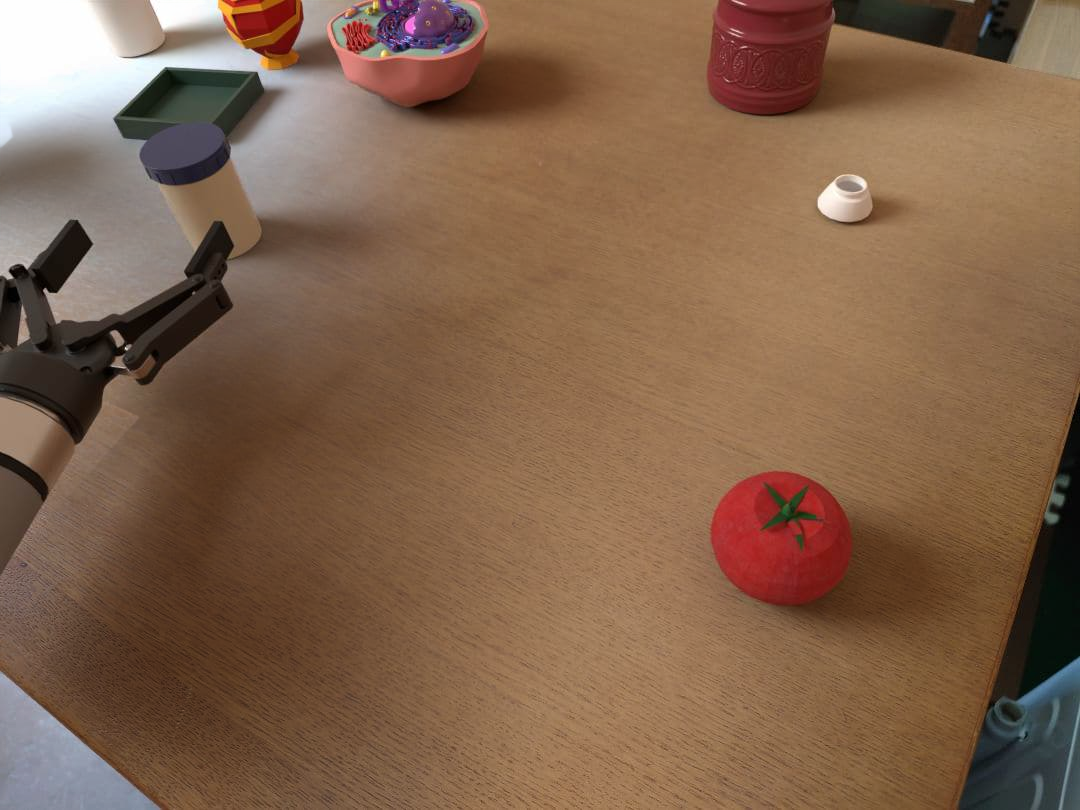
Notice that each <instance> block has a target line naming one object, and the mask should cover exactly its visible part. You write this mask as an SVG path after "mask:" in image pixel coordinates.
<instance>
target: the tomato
mask: <svg viewBox="0 0 1080 810" xmlns="http://www.w3.org/2000/svg"><path fill="white" fill-rule="evenodd" d="M710 524H711V525H710V542H711V546H712V550H713V553H714V557H715V560H716V562H717V564H718V566H719V568H720V570H721V572H722V573H723V574H724V576H725V577H726V579H727V580H728V581H729V582H730V583H731V584H732V585H733V586H735V587H736V589H738V590H739V591H741V592H742V593H744V594H745V595H747V596H749V597H750V598H753V599H755V600H757V601H760V602H762V603H765V604H769V605H773V606H783V607H784V606H787V607H790V606H798V605H804V604H806V603H810V602H813V601H815V600H817V599H818V598H820V597H822V596H823V595H825V594H827V593H828V592H830V591H831V590H833V589H834V588H835V587H836V586H837V585H838V584H839V583H840V582H841V580H842V579H843V577H844V576H845V574H846V572H847V570H848V568H849V566H850V565H849V564H850V562H851V558H852V553H853V538H852V529H851V525H850V524H851V523H850V521H849V518H848V517H847V514H846V512H845V510H844V509H843V507H842V506H841V504H840V503H839V501H838V500H837V498H836V497H835V496H834V495H833V494H832V493H831V492H830V491H829V490H828V489H827V488H825V487H824V486H823V485H822V484H820V483H819V482H817V481H815V480H813V479H811V478H810V477H807V476H805V475H802V474H800V473H795V472H791V471H781V470H773V471H764V472H760V473H757V474H754V475H751V476H748V477H746V478H744V479H743V480H740V481H738V482H737V483H736V484H735V485H734V486H732V487H731V488H730V489H729V490H728V491H727V492H726V493H725V495H724V496H723V497H722V498H721V500H720V501H719V502H718V504H717V506H716V508H715V511H714V512H713V516H712V519H711V523H710Z"/></svg>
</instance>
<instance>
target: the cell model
mask: <svg viewBox="0 0 1080 810" xmlns="http://www.w3.org/2000/svg"><path fill="white" fill-rule="evenodd" d="M489 27H490V22H489V20H488V18H487V15H486V10H485V8H484V6H483V5H482V4H481V3H479V2H477V1H475V0H363V1H361V2H359V3H356V4H354V5H353V6H350V7H349V8H347V9H346V10H344V11H342V12H341V13H339V14H338V15H336V16H334V17H333V18H332V19H331V20H330V21H329V22H328V24H327V26H326V31H327V36H328V39H329V41H330V43H331V46H332V48H333V50H334V51H335V53H336V56H337V58H338V60H339V63H340V66H341V68H342V71H343V74H344V77H345V78H346V80H347V81H348V82H349V83H351V84H353V85H355V86H358V87H359V88H360V89H362V90H364V91H366V92H367V93H369V94H372V95H375V96H378V97H380V98H382V99H384V100H386V101H388V102H391V103H393V104H396V105H398V106H401V107H403V108H414V107H417V106H419V105H422V104H425V103H429V102H436V101H440V100H445V99H446V98H449V97H451V96H452V95H454V94H456V93H458V92H459V91H461V90H463V89H464V88H465V87H467V86H468V84H469V83H470V82H471V80H472V78H473V75H474V73H475V72H476V70H477V68H478V66H479V64H480V62H481V61H482V57H483V54H484V53H483V52H484V49H485V48H484V47H485V43H486V39H487V35H488V30H489Z"/></svg>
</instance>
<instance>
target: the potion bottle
mask: <svg viewBox="0 0 1080 810" xmlns="http://www.w3.org/2000/svg"><path fill="white" fill-rule="evenodd" d="M217 9H218V10H219V11H220V12H221V13H222V19H223V22H224V24H225V29H226V30H227V32H228V33H229V35H230V37H231V38H232V40H233V41H235V42H236V43H237V44H239V45H240V46H241V47H242V48H244V49H245V50H252V51H253V52H255V53H256V54H259V55H261V60H260V64H259V65H260V66H261V67H263V68H264V69H266V70H267V71H273V70H284V69H286V68H288V67H290V66H293V65H294V64H296V63H297V62H298V60H299V58H300V54H299V53H297V51H295V49H293V47H294V45H295V43H296V41H297V39H298V37H299V35H300V33H301V29H302V26H303V23H304V20H305V17H304V7H303V2H302V0H217Z"/></svg>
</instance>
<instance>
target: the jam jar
mask: <svg viewBox="0 0 1080 810" xmlns="http://www.w3.org/2000/svg"><path fill="white" fill-rule="evenodd" d="M155 183H156V185H157V187H158V189H159V191H160V192H161V194H162V196H163V198H164V200H165V202H166V204H167V206H168V207H169V209H170V211H171V213H172V215H173V217H174V218H175V221H176V222H177V224H178V226H179V228H180V230H181V232H182V233H183V236H184V237H185V239H186V241H187V243H188V244H189V246H190V248H191V250H192V252H193V254H195V252H196V250H197V249H198V247H199V245H200V244H201V242H202V240H203V239H204V237H205V235H206V234H207V232H208V230H209V229H210V227H211V225H212V224H213V222H214V221H223V223H224V225H225V227H226V229H227V232H228V234H229V236H230V238H231V240H232V242H233V244H234V248H233V250H232V251H231V253H230V255H229V257H228V258H227V260H230V259H234V258H237V257H240V256H241V255H244V254H245V253H247V252H249V251H250V250H251V249H253V248H254V247H255V246H256V245H257V243H258V242H259V241H260V239H261V237H262V233H263V229H262V228H263V227H262V225H261V223H260V221H259V218H258V216H257V214H256V211H255V210H254V207H253V204H252V202H251V200H250V198H249V196H248V193H247V191H246V188H245V186H244V184H243V182H242V180H241V178H240V175H239V172H238V169H237V168H236V166H235V163H234V161H233V159H232V156H231V155H230V158H229V160H228V161H227V163H226V164H225V165H224V166H223V167H222V168H221V169H220V170H219V171H217V172H216V173H214V174H212V175H211V176H209V177H207V178H204V179H202V180H199V181H196V182H193V183H189V184H183V185H165V184H160V183H158V182H155Z"/></svg>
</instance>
